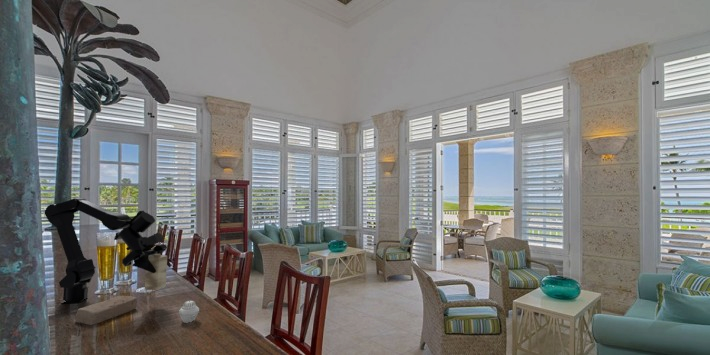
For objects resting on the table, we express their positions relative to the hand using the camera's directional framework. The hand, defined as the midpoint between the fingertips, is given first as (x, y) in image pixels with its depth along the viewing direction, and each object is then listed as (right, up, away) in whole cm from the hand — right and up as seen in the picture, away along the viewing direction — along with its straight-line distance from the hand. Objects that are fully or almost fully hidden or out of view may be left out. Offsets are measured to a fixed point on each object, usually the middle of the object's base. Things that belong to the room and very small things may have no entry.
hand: (159, 270), depth 130 cm
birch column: (-2, -7, 0) cm, 7 cm away
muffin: (+18, -14, -14) cm, 27 cm away
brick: (-12, -13, -11) cm, 21 cm away
